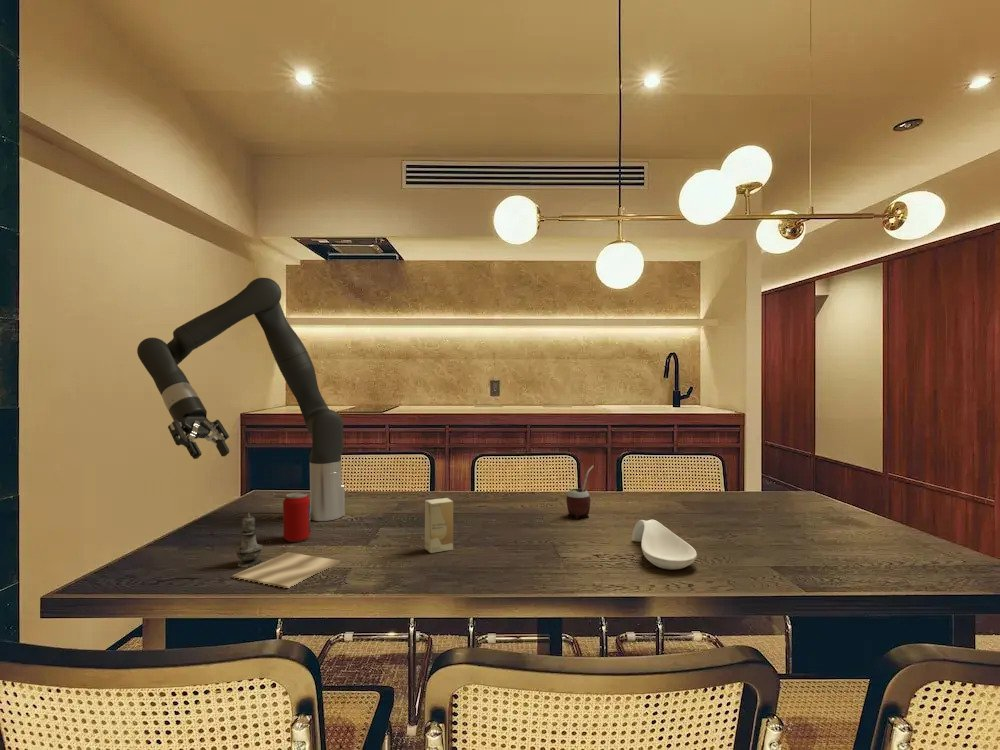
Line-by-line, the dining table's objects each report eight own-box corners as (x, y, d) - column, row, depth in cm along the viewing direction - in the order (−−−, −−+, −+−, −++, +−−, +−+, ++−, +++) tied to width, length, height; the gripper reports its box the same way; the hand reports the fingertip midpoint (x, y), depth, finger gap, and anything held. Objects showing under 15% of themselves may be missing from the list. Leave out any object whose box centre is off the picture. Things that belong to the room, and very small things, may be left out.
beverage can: (316, 536, 146) (315, 492, 146) (299, 544, 140) (298, 498, 140) (295, 534, 149) (294, 491, 148) (278, 542, 142) (277, 496, 142)
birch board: (232, 578, 118) (232, 575, 117) (288, 554, 132) (288, 552, 132) (287, 589, 111) (287, 586, 111) (340, 563, 126) (340, 560, 126)
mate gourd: (564, 519, 160) (563, 468, 160) (570, 512, 167) (570, 464, 167) (588, 521, 157) (588, 469, 157) (594, 514, 164) (594, 465, 164)
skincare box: (430, 554, 131) (429, 503, 131) (424, 548, 135) (423, 500, 135) (454, 549, 134) (453, 500, 134) (448, 544, 138) (447, 496, 138)
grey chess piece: (252, 568, 123) (251, 516, 123) (229, 567, 124) (228, 515, 124) (268, 559, 129) (267, 509, 129) (246, 558, 130) (245, 508, 130)
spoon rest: (706, 574, 116) (706, 541, 116) (654, 577, 115) (654, 544, 115) (660, 540, 140) (660, 512, 140) (617, 542, 138) (616, 514, 138)
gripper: (168, 394, 131) (198, 448, 127) (216, 396, 144) (244, 445, 140) (149, 413, 132) (178, 467, 128) (198, 413, 146) (225, 462, 142)
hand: (212, 455), depth 134 cm, fingers open, 8 cm apart
